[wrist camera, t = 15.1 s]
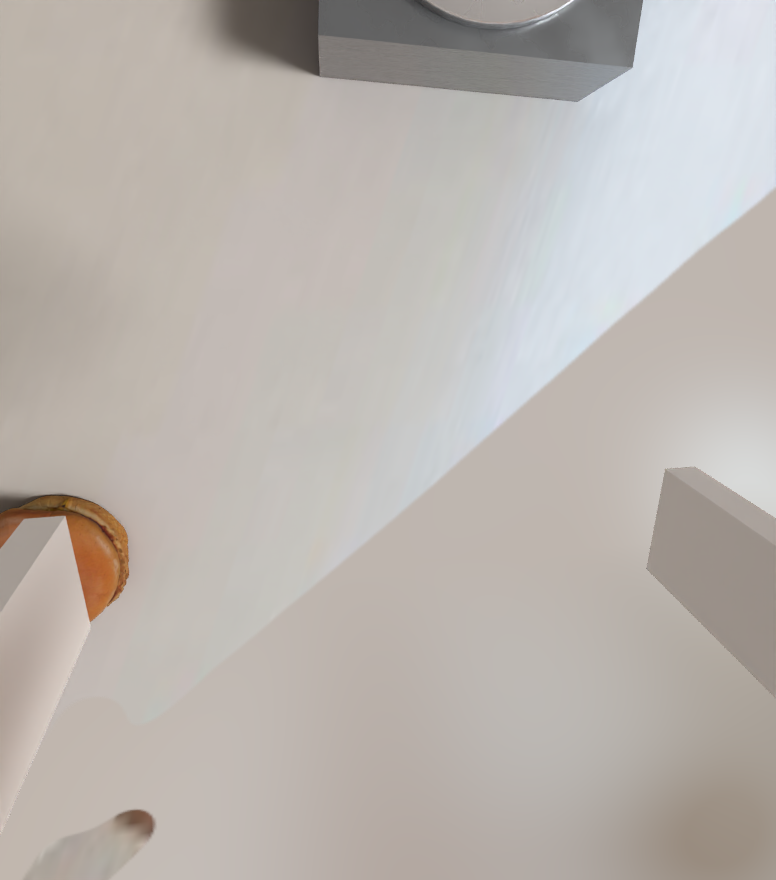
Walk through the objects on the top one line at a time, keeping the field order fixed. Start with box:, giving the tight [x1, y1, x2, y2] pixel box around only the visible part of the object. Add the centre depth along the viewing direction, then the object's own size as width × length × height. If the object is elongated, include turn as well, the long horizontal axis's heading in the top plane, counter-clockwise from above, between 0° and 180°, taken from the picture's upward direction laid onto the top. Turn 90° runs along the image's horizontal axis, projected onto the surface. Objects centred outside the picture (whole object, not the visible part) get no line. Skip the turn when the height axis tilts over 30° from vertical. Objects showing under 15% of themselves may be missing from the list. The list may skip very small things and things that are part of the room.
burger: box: [0, 496, 129, 622], centre depth 41 cm, size 10×9×5 cm
